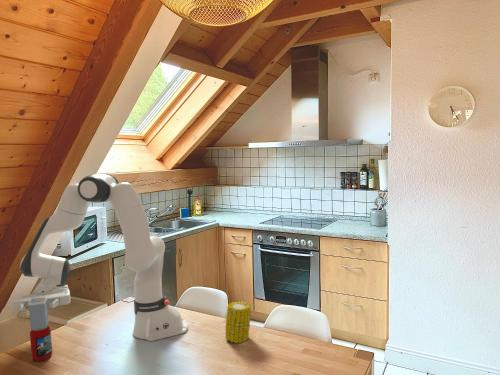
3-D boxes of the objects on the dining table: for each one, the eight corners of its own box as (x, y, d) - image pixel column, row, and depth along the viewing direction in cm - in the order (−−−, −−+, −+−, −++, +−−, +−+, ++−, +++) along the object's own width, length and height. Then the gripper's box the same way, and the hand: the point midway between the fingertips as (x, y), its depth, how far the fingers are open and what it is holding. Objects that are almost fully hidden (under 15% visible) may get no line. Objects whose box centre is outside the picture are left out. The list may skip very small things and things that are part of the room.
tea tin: (49, 322, 151) (47, 296, 150) (46, 328, 146) (44, 301, 145) (33, 324, 150) (31, 298, 149) (30, 330, 145) (28, 303, 144)
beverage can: (44, 363, 145) (41, 331, 144) (27, 361, 147) (25, 329, 145) (56, 353, 152) (54, 323, 151) (40, 352, 153) (38, 321, 152)
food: (226, 337, 164) (250, 338, 164) (223, 345, 152) (249, 346, 152) (227, 299, 166) (251, 300, 166) (224, 303, 154) (250, 304, 154)
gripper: (14, 290, 156) (4, 303, 143) (71, 284, 162) (67, 296, 149) (16, 306, 157) (6, 320, 144) (73, 299, 163) (68, 312, 150)
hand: (37, 308), depth 146 cm, fingers open, 8 cm apart
